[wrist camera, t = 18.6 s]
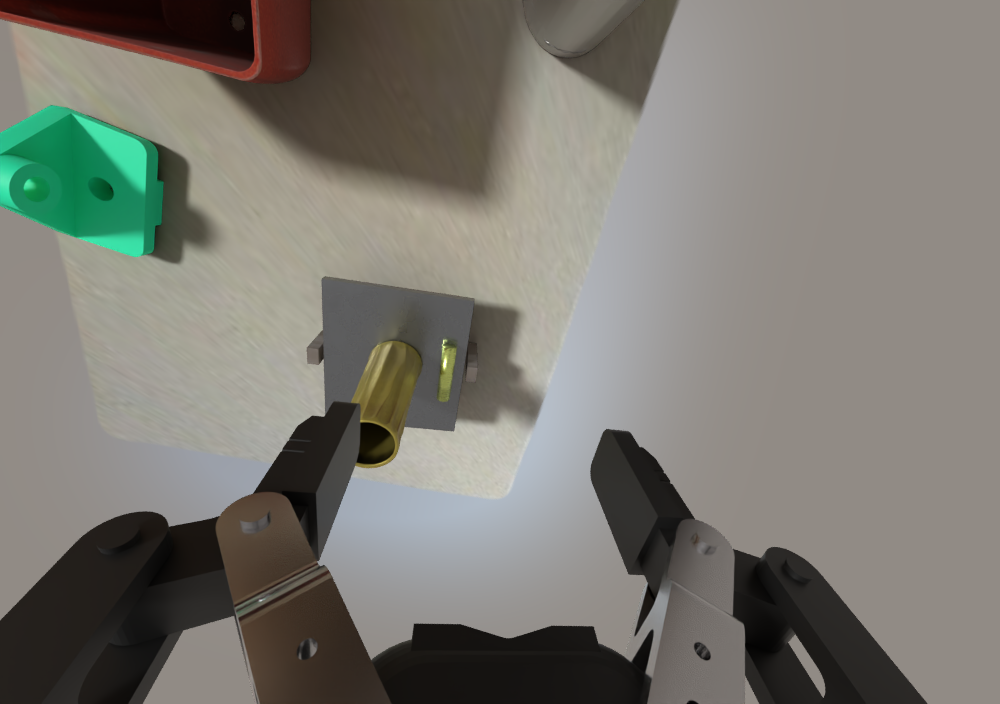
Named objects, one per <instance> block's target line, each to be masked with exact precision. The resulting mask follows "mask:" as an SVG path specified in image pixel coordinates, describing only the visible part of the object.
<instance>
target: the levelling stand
mask: <svg viewBox="0 0 1000 704" xmlns="http://www.w3.org/2000/svg"><path fill="white" fill-rule="evenodd" d="M323 359H324V347H323V330H322V331H321V333H320V334H319V335H318V336H317V337H316V338H315V339H314V340H313V341H312V343H311V344H310V345H309V346H308V347H307V362H308V364H316V365H319V364H320V362H321V361H322V360H323ZM477 371H478V361H477V344H476V343H468V346H467V352H466V382H474V383H475V382H476V376H477Z"/></svg>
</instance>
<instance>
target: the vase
mask: <svg viewBox="0 0 1000 704" xmlns="http://www.w3.org/2000/svg"><path fill="white" fill-rule="evenodd" d="M421 371H422V361H421V358H420V356H419V354H418V353H417V351H416V350H415V349H414V348H412V347H411V346H410V345H408V344H406V343H403V342H399V341H388V342H384V343H381V344H379V345H378V346H376V347H375V348H374V349H373V350H372V351H371V353H370V356H369V360H368V363H367V365H366V367H365V370H364V372H363V375H362V377H361V379H360V381H359V384H358V387H357V389H356V392H355V394H354V396H353V399H352V401H351V403H359V404H360V407H361V415H360V447H359V453H358V458H357V461H356V464H355V466H358V467H362V468H377V467H381V466H383V465H386V464H387V463H389V462H390V461H392V460H393V459H394V458H395V456H396V455H397V452H398V449H399V446H400V440H401V436H402V434H403V430H404V426H405V422H406V418H407V413H408V409H409V406H410V403H411V399H412V396H413V393H414V390H415V386H416V383H417V380H418V377H419V376H420V373H421Z"/></svg>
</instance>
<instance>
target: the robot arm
mask: <svg viewBox="0 0 1000 704" xmlns="http://www.w3.org/2000/svg"><path fill="white" fill-rule="evenodd" d="M643 1H644V0H523V6H524V12H525V18H526V21H527V24H528V27H529V29H530V31H531V33H532V35H533V36H534V38H535V40H536V41H537V42H538V43H539V44H540V45H541V47H542V48H544V49H545V50H547V51H548V52H549V53H551V54H553V55H556V56H558V57H565V58H572V57H578V56H581V55H583V54H585V53H588V52H589V51H590V50H592V49H593V48H595V47H596V46H597V45H598V44H599V43H600V42H601V41H602V40H603V39H604V38H605V37H606V36H607V35H609V34H610V33H611V32H612V31H613V30H614V29H615V28H616V27H617V26H618V25H619V24H620V23H621V22H622V21H623V20H624V19H626V18H627V17H628V16H629V15H630V14H631V13H632V12H633V11H634V10H635V9H636V8H637V7H638V6H639V5H640V4H641V3H642V2H643ZM360 415H361V407H360V404H359V403H350V402H340V401H334V402H333V403H332V404H331V406H330V408H329V410H328V411H327V413H326V415H325V416H324V417H321V416H311V417H310V418H308V419H307V420H306V421H304V422H303V423H301V424H300V425H298V426H297V428H296V429H295V431H294V432H293V434H292V435H291V437H290V438H289V441H288V442H287V443H286V445H285V446H284V448H283V450H282V452H280V454H279V455H278V457H277V458H276V460H275V461H274V463H273V464H272V466H271V467H270V469H269V470H268V472H267V473H266V475H265V477H264V478H263V479H262V481H261V483H260V484H259V485H258V487H257V488H256V490H255V492H254V493H253V494H251V495H248V496H245V497H243V498H241V499H239V500H237V501H235V502H234V503H232V504H231V505H230V506H228V507H227V508H226V509H225V510H224V511H223V512H222V514H221V515H220V516H218V517H215V518H212V519H207V520H203V521H197V522H192V523H186V524H182V525H176V526H171V527H169V526H168V522H167V520H166V519H165V517H163V516H162V515H160V514H158V513H154V512H134V513H129V514H125V515H122V516H118V517H115V518H113V519H111V520H108V521H106V522H104V523H102V524H100V525H98V526H96V527H95V528H93V529H92V530H90V531H89V532H87V533H86V534H85V535H83V536H82V537H81V538H80V539H79V540H78V541H77V542H76V543H75V544H74V545H73V546H72V547H71V548H70V549H69V550H68V551H67V552H66V553H65V554H64V556H62V557H61V559H60V560H59V561H57V563H56V564H55V565H54V566H53V567H52V568H51V569H50V570H49V571H48V572H47V573H46V574H45V575H44V576H43V577H42V578H41V579H40V580H39V581H38V582H37V583H36V584H35V585H34V586H33V587H32V588H31V590H29V591H28V592H27V594H26V595H25V596H24V597H23V598H22V599H21V600H20V601H19V602H18V603H17V604H16V605H15V606H14V607H13V608H12V609H11V610H10V611H9V612H8V613H7V614H6V615H5V616H4V617H3V618H2V619H1V620H0V704H143V702H144V700H145V698H146V697H147V695H148V693H149V691H150V689H151V688H152V686H153V684H154V682H155V680H156V678H157V677H158V675H159V673H160V671H161V669H162V668H163V666H164V664H165V662H166V660H167V659H168V657H169V655H170V653H171V651H172V650H173V648H174V646H175V644H176V642H177V641H178V639H179V637H180V635H181V633H182V632H183V630H186V629H189V628H193V627H196V626H200V625H203V624H207V623H210V622H214V621H217V620H221V619H224V618H228V617H231V616H234V618H235V623H236V627H237V631H238V635H239V639H240V643H241V647H242V651H243V655H244V660H245V664H246V668H247V672H248V676H249V680H250V684H251V688H252V693H253V697H254V702H255V704H745V676H746V678H747V680H748V682H749V684H750V686H751V688H752V690H753V692H754V694H755V696H756V698H757V700H758V702H759V704H927V703H926V701H925V700H924V699H923V698H922V697H921V695H920V694H919V693H918V692H917V690H916V689H915V688H914V687H913V686H912V684H911V683H910V682H909V681H908V680H907V678H906V677H905V676H904V675H903V673H902V672H901V671H900V670H899V669H898V667H897V666H896V665H895V664H894V662H893V661H892V660H891V659H890V658H889V656H888V655H887V654H886V653H885V652H884V650H883V649H882V648H881V647H880V646H879V644H878V643H877V642H876V641H875V640H874V638H873V637H872V636H871V635H870V633H869V632H868V631H867V630H866V628H865V627H864V626H863V625H862V624H861V622H860V621H859V620H858V619H857V618H856V616H855V615H854V614H853V613H852V612H851V610H850V609H849V608H848V607H847V605H846V604H845V603H844V602H843V601H842V599H841V598H840V597H839V596H838V594H837V593H836V592H835V591H834V590H833V588H832V587H831V586H830V585H829V584H828V582H827V581H826V580H825V579H824V577H823V576H822V575H821V574H820V573H819V572H818V571H817V570H816V569H815V568H814V567H813V566H812V565H811V564H810V563H809V562H807V561H806V560H805V559H803V558H802V557H800V556H798V555H797V554H795V553H793V552H791V551H789V550H787V549H783V548H778V547H771V548H769V549H767V551H766V552H765V553H764V555H763V556H762V557H761V558H758V557H755V556H752V555H750V554H746V553H744V552H740V551H738V550H734V549H732V547H731V545H730V543H729V542H728V541H727V539H726V538H725V537H724V536H723V535H722V534H721V533H720V532H719V531H717V530H716V529H715V528H713V527H712V526H710V525H708V524H706V523H704V522H702V521H699V520H695V518H694V517H693V515H692V514H691V512H690V511H689V509H688V508H687V506H686V504H685V503H684V502H683V500H682V498H681V497H680V495H679V494H678V492H677V491H676V489H675V488H674V486H673V485H672V484H670V480H669V478H668V477H667V475H666V474H664V471H663V469H662V468H661V466H660V465H659V464H658V462H657V460H656V459H655V458H654V457H653V456H652V455H651V454H650V453H649V452H647V451H646V450H645V449H644V448H642V447H639V446H638V444H637V442H636V441H635V439H634V438H633V436H632V434H631V433H630V432H628V431H620V430H610V429H606V430H605V431H604V432H603V434H602V437H601V440H600V442H599V445H598V448H597V450H596V453H595V456H594V458H593V461H592V464H591V471H590V472H591V481H592V484H593V486H594V489H595V491H596V494H597V496H598V499H599V501H600V504H601V506H602V509H603V511H604V514H605V516H606V519H607V521H608V524H609V526H610V529H611V531H612V534H613V536H614V539H615V541H616V544H617V546H618V549H619V552H620V554H621V556H622V559H623V561H624V564H625V566H626V569H627V572H628V574H630V575H645V577H646V580H647V583H646V585H645V587H644V589H643V593H642V596H641V600H640V603H639V607H638V610H637V614H636V618H635V621H634V625H633V628H632V632H631V636H630V639H629V643H628V646H627V649H626V651H625V654H624V656H622V655H621V654H619V653H618V652H616V651H614V650H612V649H610V648H608V647H606V646H604V645H602V644H598V641H597V637H596V634H595V630H594V627H592V626H588V627H587V626H550V627H547V628H543V629H540V630H537V631H534V632H530V633H527V634H524V635H521V636H517V637H514V638H503V637H499V636H496V635H493V634H490V633H487V632H483V631H480V630H477V629H474V628H471V627H467V626H464V625H461V624H414V628H413V635H412V640H408V641H405V642H402V643H399V644H397V645H395V646H393V647H390V648H388V649H387V650H385V651H383V652H382V653H380V654H378V655H377V656H376V657H374V658H373V659H372V660H371V659H370V657H369V655H368V652H367V650H366V648H365V646H364V644H363V642H362V640H361V637H360V635H359V633H358V631H357V629H356V627H355V625H354V622H353V620H352V618H351V616H350V614H349V612H348V610H347V607H346V605H345V603H344V601H343V599H342V597H341V595H340V592H339V590H338V588H337V586H336V584H335V582H334V580H333V577H332V575H331V573H330V572H329V570H328V569H327V567H326V566H325V565H323V566H321V567H320V566H319V565H318V563H317V561H319V560H320V557H321V554H322V552H323V549H324V546H325V544H326V541H327V538H328V536H329V533H330V530H331V528H332V525H333V523H334V520H335V517H336V515H337V512H338V509H339V507H340V504H341V501H342V499H343V496H344V493H345V491H346V488H347V486H348V483H349V480H350V478H351V475H352V472H353V470H354V467H355V464H356V461H357V458H358V453H359V447H360ZM795 634H796V636H797V637H798V639H799V640H800V642H801V643H802V645H803V646H804V648H805V649H806V650H807V652H808V654H809V655H810V657H811V658H812V660H813V661H814V663H815V664H816V666H817V667H818V669H819V671H820V672H821V674H822V677H823V679H824V683H825V691H826V692H825V696H824V698H823V697H822V696H821V694H820V692H819V691H818V690H817V688H816V686H815V684H814V683H813V681H812V680H811V678H810V677H809V675H808V673H807V672H806V670H805V669H804V667H803V666H802V664H801V662H800V661H799V659H798V658H797V656H796V654H795V653H794V651H793V650H792V648H791V647H790V645H789V643H788V642H789V641H790V639H791V638H792V637H793V636H794V635H795Z"/></svg>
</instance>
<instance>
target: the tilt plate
mask: <svg viewBox="0 0 1000 704" xmlns="http://www.w3.org/2000/svg"><path fill="white" fill-rule="evenodd" d="M473 308H474V298H468V297H461V296H454V295H447V294H441V293H434V292H427V291H420V290H414V289H407V288H400V287H393V286H387V285H380V284H373V283H366V282H360V281H353V280H346V279H339V278H333V277H326V276H325V277H323V278H322V310H323V347H324V383H325V415H326V413H327V411H328V410H329V408H330V406H331V404H332V403H333V402H334V401H340V402H350V403H351V401H352V399H353V396H354V394H355V392H356V389H357V387H358V384H359V381H360V379H361V377H362V375H363V372H364V370H365V367H366V365H367V363H368V360H369V356H370V353H371V351H372V350H373V349H374V348H375V347H376V346H378V345H379V344H381V343H384V342H388V341H399V342H403V343H406V344H408V345H410V346H411V347H412V348H414V349H415V350H416V351H417V353H418V354H419V356H420V358H421V361H422V371H421V373H420V376H419V377H418V380H417V383H416V386H415V390H414V393H413V396H412V399H411V403H410V406H409V409H408V413H407V418H406V422H405V426H404V427H412V428H423V429H434V430H444V431H454V429H455V422H456V416H457V409H458V403H459V397H460V390H461V384H462V378H463V371H464V365H465V359H466V352H467V346H468V339H469V333H470V327H471V320H472V314H473Z"/></svg>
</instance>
